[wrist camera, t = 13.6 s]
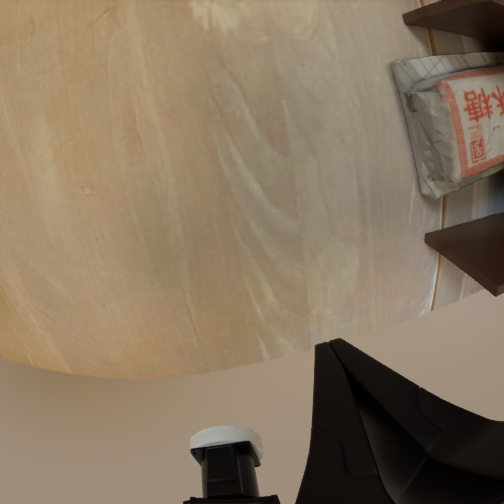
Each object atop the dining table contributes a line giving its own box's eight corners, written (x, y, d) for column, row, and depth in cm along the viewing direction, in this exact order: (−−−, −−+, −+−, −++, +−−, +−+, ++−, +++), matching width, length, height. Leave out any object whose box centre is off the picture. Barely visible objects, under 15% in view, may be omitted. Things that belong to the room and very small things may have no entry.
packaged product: (459, 220, 16) (427, 54, 11) (417, 198, 20) (383, 63, 16) (569, 157, 15) (554, 52, 11) (535, 146, 19) (518, 51, 15)
